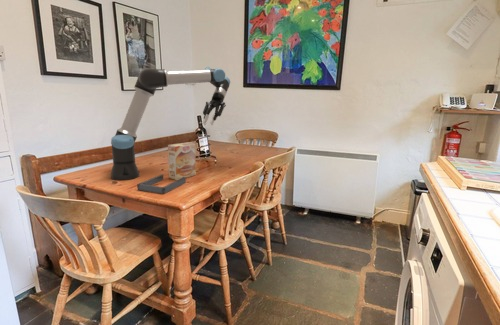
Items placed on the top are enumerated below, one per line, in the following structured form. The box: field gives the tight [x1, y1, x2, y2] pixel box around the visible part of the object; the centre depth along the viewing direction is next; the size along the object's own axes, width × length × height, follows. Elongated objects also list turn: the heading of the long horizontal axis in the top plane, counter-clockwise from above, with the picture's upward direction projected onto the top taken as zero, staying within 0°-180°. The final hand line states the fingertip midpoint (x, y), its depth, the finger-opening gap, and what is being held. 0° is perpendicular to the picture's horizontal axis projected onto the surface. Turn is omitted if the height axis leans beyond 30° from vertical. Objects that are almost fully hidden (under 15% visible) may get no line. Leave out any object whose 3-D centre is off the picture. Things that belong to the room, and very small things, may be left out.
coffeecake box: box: [167, 141, 197, 181], centre depth 166 cm, size 15×7×20 cm, turn 143°
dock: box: [137, 173, 186, 195], centre depth 150 cm, size 15×20×3 cm
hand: (207, 123), depth 175 cm, fingers open, 4 cm apart
